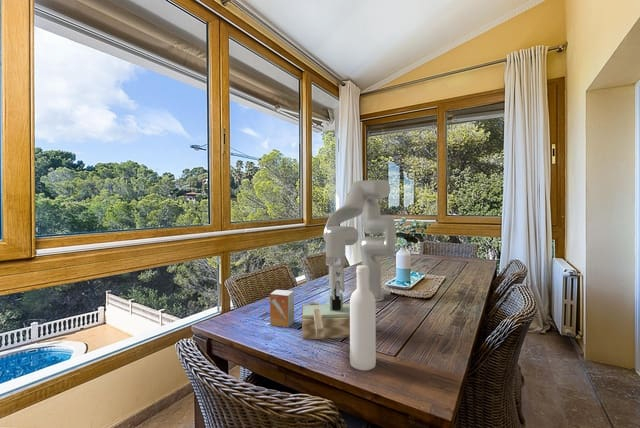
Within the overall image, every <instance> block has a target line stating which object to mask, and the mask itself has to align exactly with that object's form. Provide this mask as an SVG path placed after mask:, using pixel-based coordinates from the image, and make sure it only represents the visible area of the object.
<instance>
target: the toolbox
mask: <svg viewBox="0 0 640 428" xmlns="http://www.w3.org/2000/svg"><path fill="white" fill-rule="evenodd" d="M308 305H320V302H318V301H317V302H308ZM321 319H322V324H323V328H324V338H318V340H321V339H336V338H337V339H338V338H341V339H342V338H344V339H345V338H350V317H336V318H322V315H321ZM301 325H302V326H301V329H302V340H312V339H313V340H317V335H316V329H315V322H314V315H311V319H303V308H302V307H301Z"/></svg>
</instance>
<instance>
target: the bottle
mask: <svg viewBox="0 0 640 428" xmlns="http://www.w3.org/2000/svg"><path fill="white" fill-rule="evenodd" d="M355 272H356V289H355V290H353V292H351V295H350V299H349V304H350V337H349V364H350V365H351V367H352V368H354V369H356V370H358V371H371V370H372V369H374V368H375V367H376V366H377V365H376V361H377V353H376V352H377V351H376V348H377V347H376V344H377V343H376V341H377V340H376V338H377V337H376V335H377V334H376V333H377V330H376V328H377V327H376V321H377V320H376V316H377V315H376V313H377V312H376V309H377V308H376V305H377V302H376V300H375V297H374V294H373V293H372V292H371V291H370V290H369V267H368V266H365V265H362V264H360V265H357V266H356V270H355Z"/></svg>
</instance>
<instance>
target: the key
mask: <svg viewBox="0 0 640 428" xmlns="http://www.w3.org/2000/svg"><path fill="white" fill-rule="evenodd" d="M314 322H315V329H316V335H317V339H318V338H322V339H325V338H324V328H323V324H322V319H321V314H320V309H314ZM317 339H316V340H317ZM318 340H319V339H318Z"/></svg>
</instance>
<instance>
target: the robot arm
mask: <svg viewBox="0 0 640 428" xmlns="http://www.w3.org/2000/svg"><path fill="white" fill-rule="evenodd" d="M390 193H391V184H390V183H389V181H388V180H386V179H379V180H378V179H374V180H373V179H369V180H357V181H354V182H353V183H352V184H351V185H350V188H349V191H348V193H347V197H346V199H345V202H344V205H342V206H340V207H339V208H338V209H336V210H335V211H334V212H333V213H331V214H330V216H329V217H328V219H327V221H326V223H325V226H324V229H323V235H322V236H323V240H324V242H325V265H326V266H328V284H329V285H328V286H329V288H330V290H331V293H330V294H333V299H332V309H333V310H341V295H340V294H341V293H344V292H346V290H345V289H346V287H345V270H344V268H345V267H344V266H346V246H353V245H355V244H356V243H357V242H358V241H359V232H358V230H357V229H356V228H355V227H354V226H349V225H348V226H345V225H341V224H342V223H344V222H346V221H350V220H352V219H354V218H356V217H360V215H362V229H363V231H364V233H366V234H369V235H370V234H371V235H383V236H384V237H383V236H369V235H368V236H364V237H362V238H361V240H360V243H359V247H360V255H361V265H365V266H368V267H369V290H370V291H371V292H372V293H373V294H374V297H375V300H376V303H377V302H381V301H384V300H385V295H386V296H387V295H388V296H389V295H391V291H390V290H387V289H382V264H381V261H380V259H379V257H387V258H388V257H393V256H395V253H396V221H395V218H394V217H393V216H392V215H385V214H384V215H381V205H380V203H379V201H378V200H383V199H386V198H388V197H389V196H390Z"/></svg>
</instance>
